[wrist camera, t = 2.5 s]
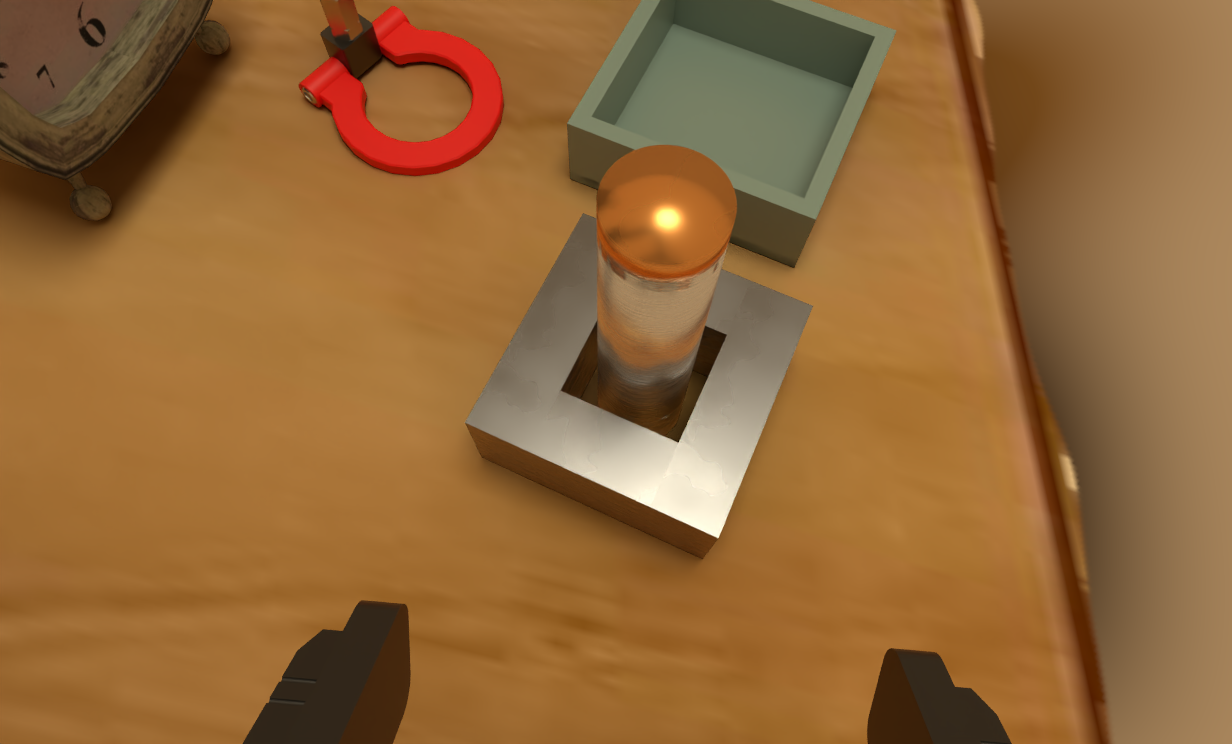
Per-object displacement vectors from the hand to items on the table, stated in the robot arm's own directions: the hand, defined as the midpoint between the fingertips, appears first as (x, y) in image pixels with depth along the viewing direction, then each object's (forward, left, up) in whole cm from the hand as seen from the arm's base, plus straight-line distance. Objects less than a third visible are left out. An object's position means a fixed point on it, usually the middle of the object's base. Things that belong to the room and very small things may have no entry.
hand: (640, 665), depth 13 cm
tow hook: (+21, +21, -18) cm, 34 cm away
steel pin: (+11, +4, -18) cm, 21 cm away
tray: (+26, +6, -18) cm, 32 cm away
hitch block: (+11, +4, -18) cm, 21 cm away
